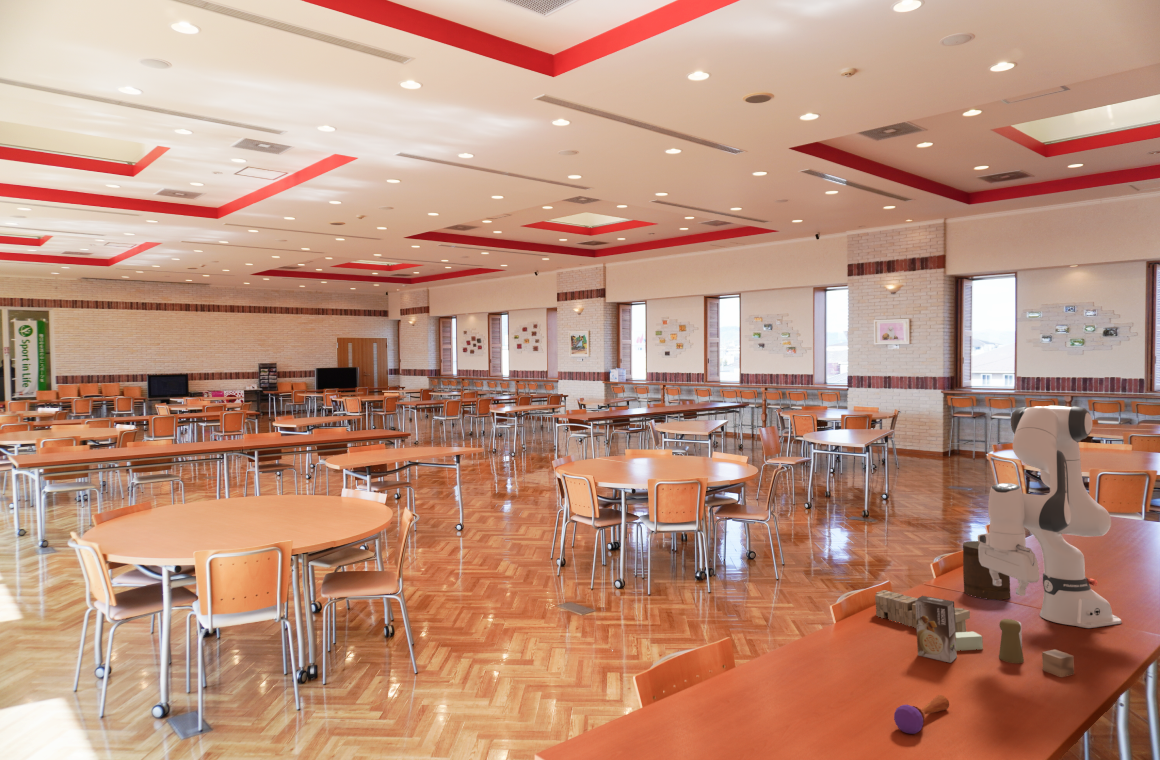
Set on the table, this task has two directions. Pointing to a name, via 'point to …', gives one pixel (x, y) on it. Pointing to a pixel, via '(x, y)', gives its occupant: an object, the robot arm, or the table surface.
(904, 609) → the block tower
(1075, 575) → the robot arm
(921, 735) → the table surface
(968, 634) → the sage block
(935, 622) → the coffee box
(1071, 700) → the table surface
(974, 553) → the wooden container
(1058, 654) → the walnut cube
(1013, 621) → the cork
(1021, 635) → the white capsule
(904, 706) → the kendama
